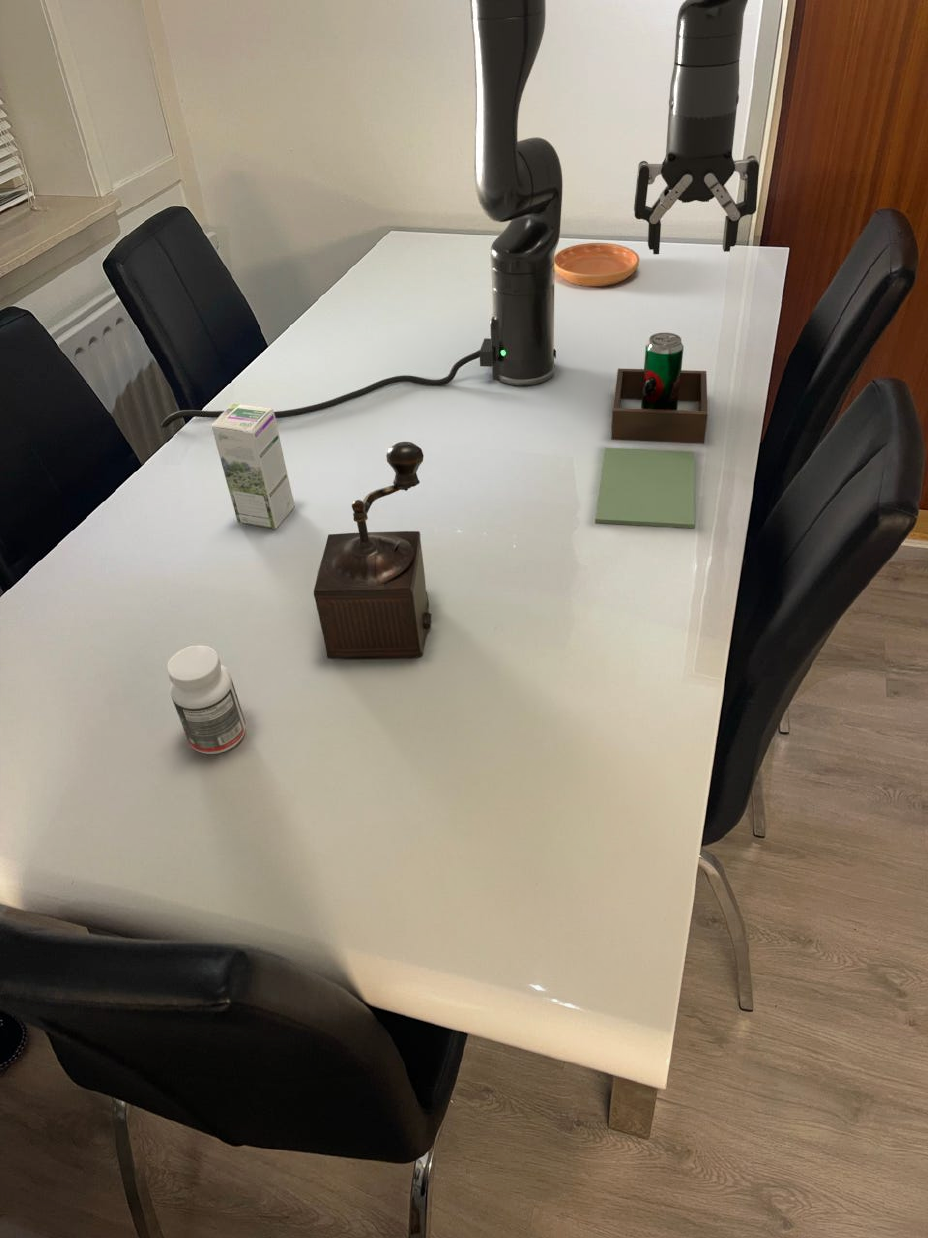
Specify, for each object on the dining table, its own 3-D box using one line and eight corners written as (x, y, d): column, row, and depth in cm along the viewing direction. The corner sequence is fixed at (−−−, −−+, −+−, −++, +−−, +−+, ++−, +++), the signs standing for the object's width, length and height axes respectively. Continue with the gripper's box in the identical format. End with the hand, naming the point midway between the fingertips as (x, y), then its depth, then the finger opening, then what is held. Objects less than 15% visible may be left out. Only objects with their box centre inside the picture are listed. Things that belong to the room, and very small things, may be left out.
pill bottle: (192, 716, 94) (166, 643, 88) (249, 710, 95) (227, 637, 88) (185, 759, 90) (156, 686, 84) (244, 753, 90) (220, 680, 84)
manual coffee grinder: (428, 659, 99) (412, 518, 87) (325, 660, 99) (295, 521, 88) (437, 568, 110) (424, 433, 99) (345, 570, 111) (321, 436, 99)
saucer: (643, 287, 169) (644, 271, 167) (555, 292, 170) (555, 276, 168) (632, 255, 181) (633, 240, 179) (550, 260, 182) (550, 244, 180)
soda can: (675, 428, 131) (683, 347, 124) (639, 426, 132) (645, 346, 125) (676, 410, 135) (684, 331, 127) (641, 409, 136) (647, 330, 128)
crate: (611, 439, 130) (612, 410, 127) (616, 396, 140) (617, 368, 137) (703, 443, 128) (707, 413, 125) (703, 399, 137) (706, 370, 134)
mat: (594, 522, 116) (595, 518, 115) (604, 451, 128) (604, 447, 128) (694, 528, 113) (695, 524, 113) (694, 455, 126) (694, 451, 126)
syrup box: (296, 506, 122) (275, 405, 113) (275, 531, 118) (251, 429, 109) (258, 500, 124) (233, 400, 114) (235, 525, 120) (208, 424, 110)
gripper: (763, 94, 108) (746, 238, 118) (637, 101, 109) (631, 242, 120) (772, 110, 102) (753, 260, 113) (639, 117, 104) (633, 264, 114)
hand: (690, 250), depth 116 cm, fingers open, 8 cm apart
